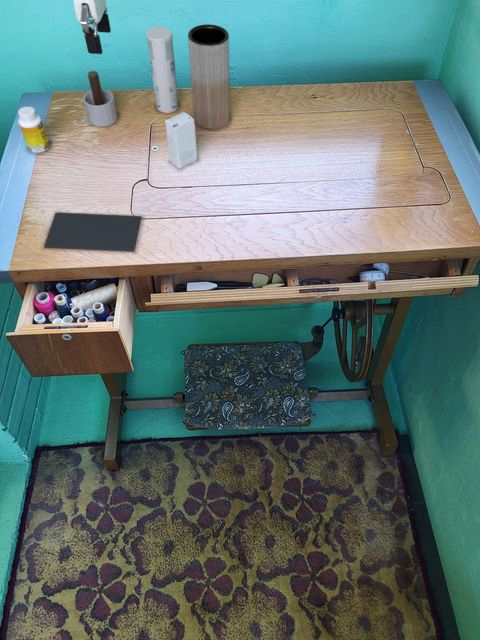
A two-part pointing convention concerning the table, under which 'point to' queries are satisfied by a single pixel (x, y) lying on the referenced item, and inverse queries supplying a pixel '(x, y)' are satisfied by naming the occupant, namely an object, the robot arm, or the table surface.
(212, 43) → the planter
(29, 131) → the supplement bottle
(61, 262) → the table surface
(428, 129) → the table surface
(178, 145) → the cosmetic box
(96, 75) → the walnut stick
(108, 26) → the robot arm
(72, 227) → the felt mat
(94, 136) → the table surface
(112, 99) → the tin
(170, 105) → the spray can
